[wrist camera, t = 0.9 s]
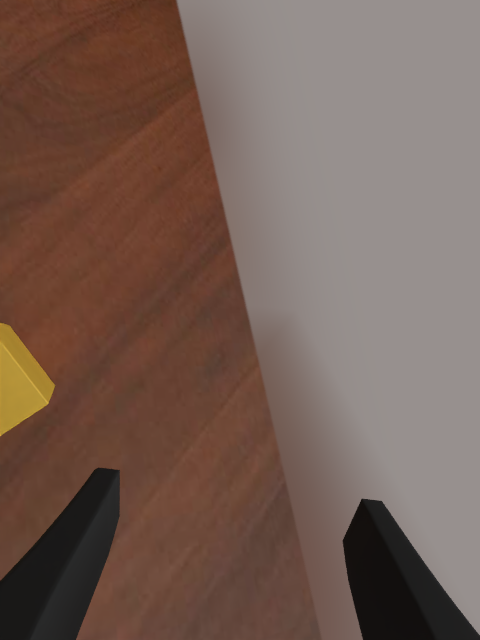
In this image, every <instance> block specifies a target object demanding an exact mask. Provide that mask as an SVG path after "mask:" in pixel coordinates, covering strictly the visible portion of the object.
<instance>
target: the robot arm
mask: <svg viewBox="0 0 480 640" xmlns="http://www.w3.org/2000/svg"><path fill="white" fill-rule="evenodd" d="M119 500H120V470H114V469H105V468H97V469H95V470H94V471H93V473H92V474H91V476H90V477H89V478H88V480H87V481H86V482H85V484H84V485H83V486H82V488H81V489H80V490H79V492H78V493H77V494H76V495H75V497H74V498H73V499H72V501H71V502H70V503H69V504H68V506H67V507H66V508H65V509H64V510H63V512H62V513H61V514H60V515H59V516H58V518H57V519H56V520H55V521H54V522H53V524H52V525H51V526H50V527H49V528H48V529H47V531H46V532H45V533H44V534H43V535H42V536H41V538H40V539H39V540H38V541H37V542H36V543H35V544H34V545H33V547H32V548H31V549H30V550H29V551H28V552H27V553H26V554H25V555H24V556H23V557H22V558H21V560H20V561H19V562H18V563H17V564H16V565H15V566H14V567H13V568H12V569H11V570H10V571H9V572H8V574H7V575H6V576H5V577H4V578H3V579H2V580H1V581H0V640H76V638H77V635H78V632H79V630H80V627H81V625H82V622H83V620H84V617H85V614H86V612H87V609H88V607H89V604H90V602H91V599H92V596H93V594H94V591H95V589H96V586H97V583H98V581H99V578H100V576H101V573H102V570H103V568H104V565H105V563H106V560H107V557H108V554H109V551H110V548H111V544H112V541H113V537H114V534H115V530H116V526H117V523H118V519H119ZM343 546H344V554H345V562H346V568H347V574H348V581H349V585H350V589H351V593H352V597H353V601H354V605H355V609H356V613H357V617H358V621H359V625H360V629H361V633H362V637H363V640H480V635H479V634H478V633H477V632H476V630H475V629H474V628H473V627H472V625H471V624H470V623H469V622H468V620H467V619H466V618H465V616H464V615H463V614H462V613H461V611H460V610H459V609H458V607H457V606H456V605H455V604H454V602H453V601H452V600H451V598H450V597H449V596H448V594H447V593H446V592H445V591H444V589H443V588H442V586H441V585H440V583H439V582H438V581H437V579H436V578H435V577H434V575H433V574H432V573H431V571H430V570H429V569H428V567H427V566H426V564H425V563H424V561H423V560H422V559H421V557H420V556H419V555H418V553H417V551H416V550H415V549H414V547H413V546H412V544H411V543H410V542H409V540H408V539H407V537H406V536H405V534H404V533H403V531H402V530H401V528H400V527H399V526H398V524H397V523H396V521H395V520H394V518H393V517H392V516H391V514H390V512H389V511H388V509H387V508H386V507H385V505H384V504H383V502H382V501H377V500H368V499H362V500H361V502H360V504H359V506H358V508H357V511H356V513H355V515H354V517H353V519H352V521H351V524H350V526H349V528H348V530H347V532H346V535H345V537H344V539H343Z"/></svg>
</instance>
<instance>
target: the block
mask: <svg viewBox="0 0 480 640" xmlns="http://www.w3.org/2000/svg"><path fill="white" fill-rule="evenodd" d="M54 388H55V385H54V383H53V382H52V381H51V380H50V378H49V377H48V376H47V374H46V373H45V372H44V370H43V369H42V368H41V366H40V365H39V364H38V362H37V361H36V360H35V359H34V357H33V356H32V355H31V353H30V352H29V351H28V349H27V348H26V347H25V345H24V344H23V343H22V341H21V340H20V339H19V338H18V336H17V335H16V334H15V332H14V331H13V330H12V328H11V327H10V326H9V325H6V324H3V323H0V436H1V435H3V434H4V433H6V432H7V431H8V430H10V429H11V428H13V427H14V426H16V425H17V424H19V423H20V422H22V421H23V420H25V419H26V418H28V417H29V416H31V415H32V414H34V413H35V412H37V411H38V410H40V409H41V408H43V407H44V406H46V405H47V404H48V403H49V401H50V398H51V395H52V393H53V390H54Z"/></svg>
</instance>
